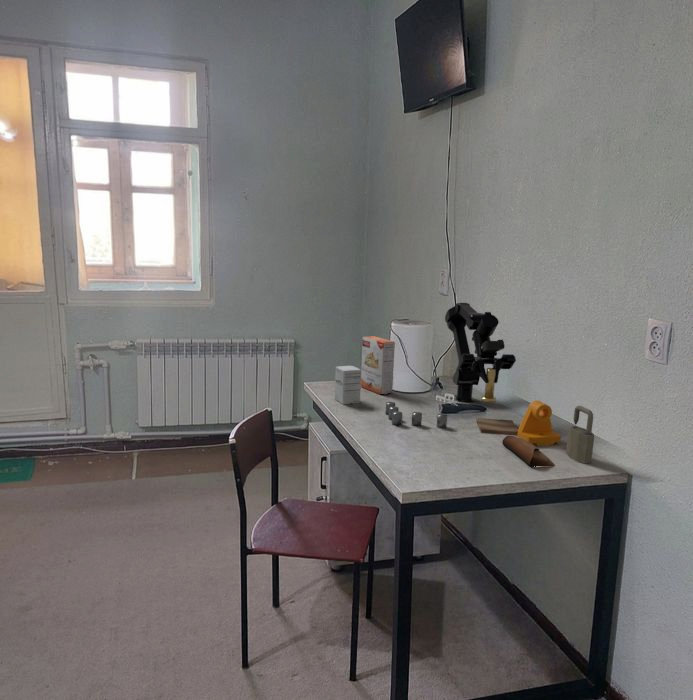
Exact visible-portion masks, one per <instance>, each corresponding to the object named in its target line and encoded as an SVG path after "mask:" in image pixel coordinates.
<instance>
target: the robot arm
mask: <svg viewBox="0 0 693 700" xmlns="http://www.w3.org/2000/svg"><path fill="white" fill-rule="evenodd" d="M444 322H445V323H446V327H447V328H448V329H449V331H451V332H452V334H453V339H454V344H455V348H456V354H457V360H458V363H457V364H458V365H457V367H456V369H455V371H454V374H453V376H452V383H453V384H454V385H456V386H457V389H456V394H455V395H454V398H455V397H456V398H455V400H458V401H457V402H469V401H470V402H471V403H473V402H474V398H473V386H478V385H479V382H480V379H481V380H482V381H483V382H484V383H485V384H486V383H487V382H488V379H487V375H486V372H487V370H486V368H485V365H492V368H494V369H496V375H495V384H497V383H498V380H499V375H500V374H499V373H500V371H501V370H511V369H512V368H513V366H514V365H515V363H516V361H517V358H516V356H515V355H514V354H511V353H508V354H506V353H505V354H504V353H503V354H502V355H501V356H500V357H501V358H499V357H496V356H497V355H498V352H500V351H503V350H504V349H505V342H504V339H497V340H491V336H493V334H494V333H495V330H496V329H497V326H498V325H499V323H500V321H499V319H498V318H497V317H496V315H494V314H492V312H491V311H485V312H484V313H482V312H477V311H476V310H475V309H474V308H473V307H472V306H471V305H470V303H468V302H457V303H455V305H454V306H452V307H451V308H449V309H448V310H447V312H446V313H445V316H444ZM466 327H467V329H469V330H470V331H473V333H472V337H471V341H473V345H474V348H475V349H474V353H471V352H470V346H469V342H468V337H467V333H466ZM475 354H476V356H475Z"/></svg>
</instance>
